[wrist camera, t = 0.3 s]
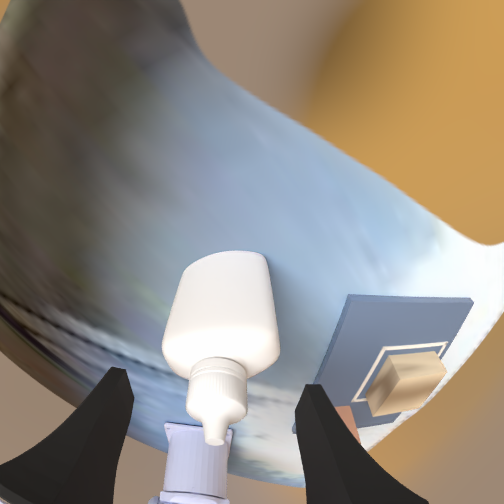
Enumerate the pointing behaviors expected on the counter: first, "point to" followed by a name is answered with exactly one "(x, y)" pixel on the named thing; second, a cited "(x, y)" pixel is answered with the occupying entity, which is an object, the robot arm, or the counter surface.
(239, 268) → the eye dropper bottle
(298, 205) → the counter surface
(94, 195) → the counter surface
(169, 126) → the counter surface
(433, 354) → the base block
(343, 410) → the top block
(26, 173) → the counter surface
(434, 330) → the board
